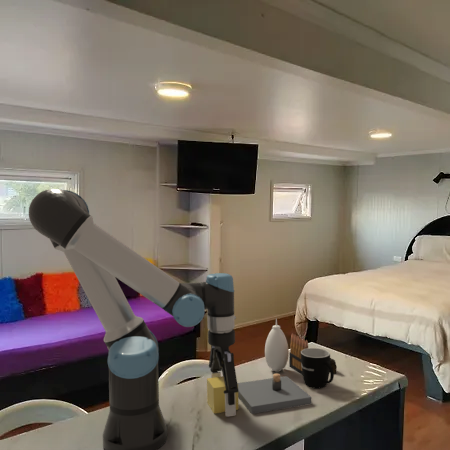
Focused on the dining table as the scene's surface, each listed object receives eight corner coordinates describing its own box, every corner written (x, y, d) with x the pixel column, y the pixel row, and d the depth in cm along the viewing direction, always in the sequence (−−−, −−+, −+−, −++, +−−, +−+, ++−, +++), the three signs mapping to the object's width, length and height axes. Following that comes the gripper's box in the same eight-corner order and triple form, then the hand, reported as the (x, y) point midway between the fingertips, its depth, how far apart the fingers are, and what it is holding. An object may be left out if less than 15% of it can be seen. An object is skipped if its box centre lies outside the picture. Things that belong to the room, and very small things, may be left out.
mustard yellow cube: (214, 413, 117) (213, 388, 117) (207, 402, 124) (206, 378, 123) (238, 409, 119) (238, 384, 119) (230, 399, 126) (230, 375, 125)
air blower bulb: (292, 370, 147) (292, 317, 146) (280, 377, 141) (279, 322, 141) (274, 364, 152) (273, 314, 152) (260, 371, 146) (260, 318, 146)
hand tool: (297, 358, 159) (297, 346, 159) (306, 356, 161) (306, 344, 160) (329, 376, 142) (329, 362, 141) (339, 374, 143) (339, 360, 143)
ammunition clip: (310, 376, 141) (310, 340, 141) (305, 377, 141) (305, 341, 140) (293, 365, 151) (293, 331, 151) (289, 366, 151) (288, 332, 150)
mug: (295, 382, 136) (294, 351, 136) (316, 376, 141) (316, 346, 141) (321, 396, 126) (321, 362, 126) (343, 389, 131) (343, 356, 130)
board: (251, 414, 116) (251, 390, 116) (232, 390, 132) (232, 369, 131) (311, 404, 122) (311, 381, 121) (286, 382, 137) (286, 362, 137)
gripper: (249, 340, 110) (251, 422, 110) (221, 317, 133) (223, 385, 134) (221, 344, 107) (223, 428, 108) (197, 319, 131) (199, 388, 132)
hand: (223, 404), depth 121 cm, fingers open, 13 cm apart
